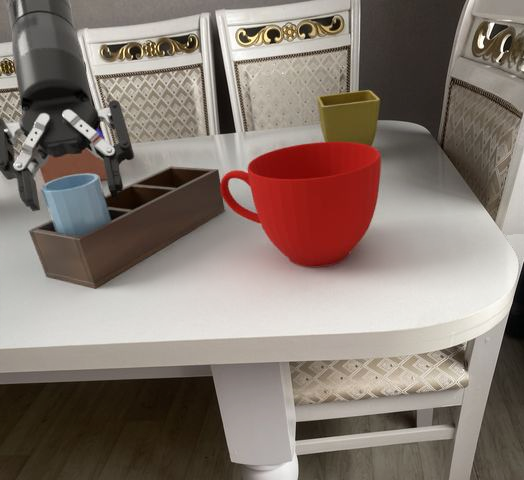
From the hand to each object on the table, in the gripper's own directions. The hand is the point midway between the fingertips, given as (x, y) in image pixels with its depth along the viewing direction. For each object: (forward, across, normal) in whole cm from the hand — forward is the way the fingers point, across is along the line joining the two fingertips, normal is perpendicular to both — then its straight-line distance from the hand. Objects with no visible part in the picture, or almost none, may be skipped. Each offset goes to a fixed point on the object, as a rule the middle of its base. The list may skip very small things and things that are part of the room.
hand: (74, 200), depth 56 cm
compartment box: (+2, +6, +9) cm, 11 cm away
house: (-28, -6, +40) cm, 49 cm away
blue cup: (+5, 0, +5) cm, 7 cm away
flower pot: (-13, +40, +24) cm, 49 cm away
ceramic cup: (+11, +23, +1) cm, 25 cm away
